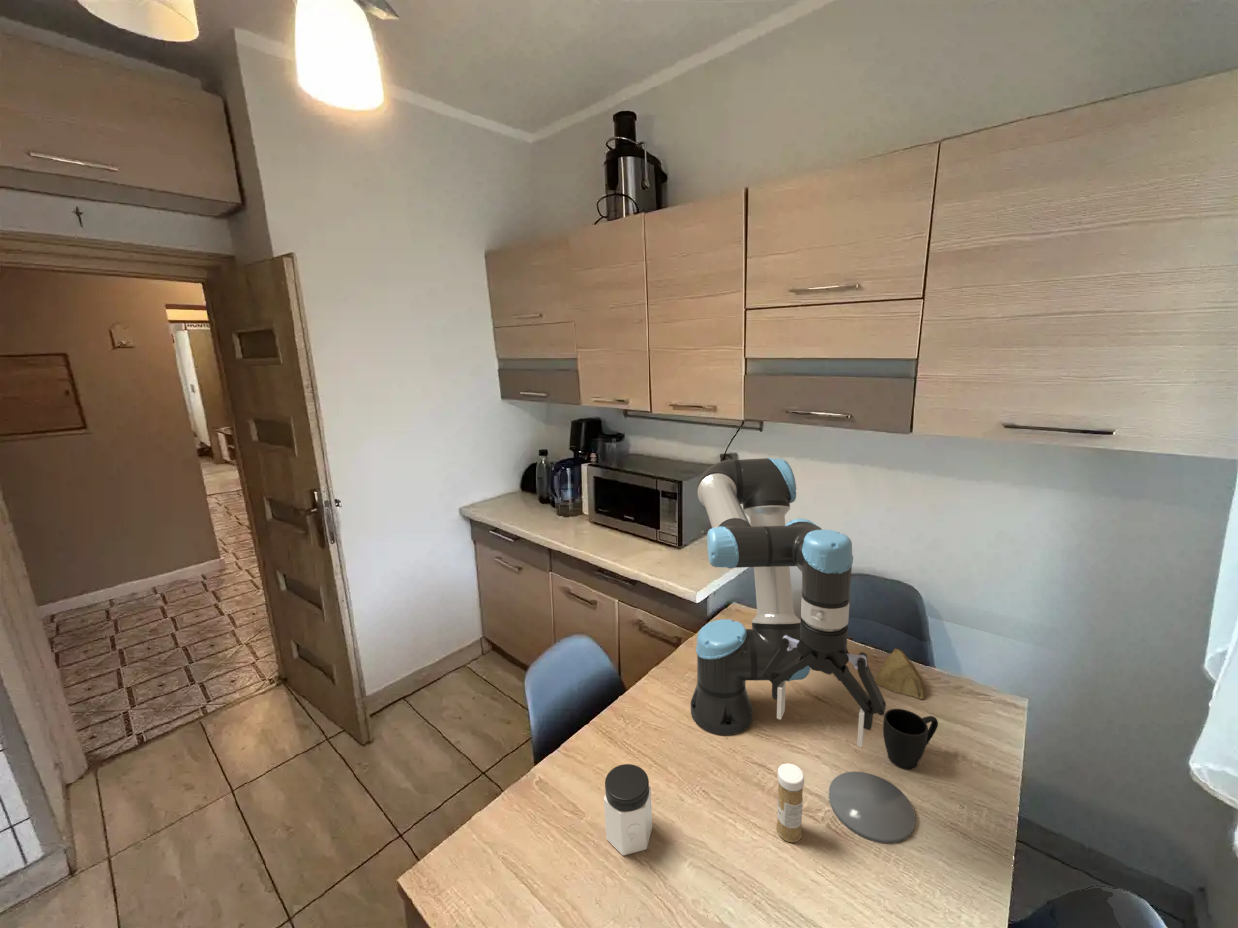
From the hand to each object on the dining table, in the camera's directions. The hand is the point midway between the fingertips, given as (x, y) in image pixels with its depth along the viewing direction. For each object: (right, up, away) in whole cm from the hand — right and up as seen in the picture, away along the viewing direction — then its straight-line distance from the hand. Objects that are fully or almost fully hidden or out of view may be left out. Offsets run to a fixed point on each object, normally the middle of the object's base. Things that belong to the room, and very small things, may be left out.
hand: (819, 727), depth 91 cm
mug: (+27, -17, +19) cm, 37 cm away
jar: (-34, -23, +5) cm, 41 cm away
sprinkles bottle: (-4, -22, +3) cm, 22 cm away
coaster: (+13, -20, +8) cm, 25 cm away
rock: (+37, -11, +40) cm, 56 cm away
